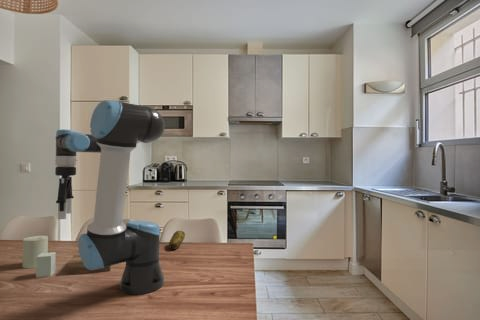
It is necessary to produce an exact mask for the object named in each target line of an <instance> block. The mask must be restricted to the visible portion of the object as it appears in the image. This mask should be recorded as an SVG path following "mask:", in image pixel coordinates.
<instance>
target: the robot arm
mask: <svg viewBox="0 0 480 320" xmlns="http://www.w3.org/2000/svg"><path fill="white" fill-rule="evenodd" d="M89 124H90V125H89V128H90V134H86V133H83V132H77V131H76V130H74V129H57V130H56V134H55V165H56V166H55V173H54V174H55V176H59V177H60V176H61V177H60V178H58V180H59V182H58V183H59V184H58V190H57V191H58V193H57V199H56V201H55V204H57V220H66V219H67V215H69V214H72V207H73V206H72V199H74V196H73V188H72V187H73V184H72V182H73V179H72V176H76V175H77V167H76V166H77V162H78V160H79V159H78V158H77V153H94V154H95V153H98V154H99V153H100V157H99V167H98V175H97V186H96V193H95V194H96V195H95V203H94V213H93V220H92V221H91V223H89V224H88V225H87V229H86V233H83V234H81V235H79V238H78V242H77V244H78V245H77V246H78V251H79V253H80V257H81V260H82V262H83V264H84V266H85V267H86V268H87V269H89V270H95V269H100V268H101V269H103V268H104V267H108V266H112V265H113V266H114V265H119V264H123V263H125V267H124V270H123V273H122V275H121V278H120V282H119V283H120V284H119V290H120V291H121V292H123V293H125V294H128V295H143V294H148V293H151V292H155V291H157V290H159V289H160V287H161V288H162V287H163V286H164V284H165V277H164V273H163V271H162V266H161V265H160V241H161V240H160V236H161V231H160V230H161V229H160V226H159V224H158V223H156V222H153V221H145V220H130V221H127V222H126V224H125V222H123V220H124V219H123V217H124V209H125V203H126V202H125V200H126V193H127V192H126V191H127V185H128V176H129V168H130V159H131V152H132V151H134V150H135V149H136V148H137V144H139V143H144V144H148V143H153V142H155V141H157V140H158V139H160V138H161V137H162V136H163V134H164V131H165V127H166V126H165V121H164V117H163V116H162V115H161V114H160V112H159V111H158V110H156V109H155V108H153V107H150V106H146V105H140V104H139V105H138V104H134V103H128V102H123V101H119V100H110V99H109V100H108V99H105V100H102V101H100V102H98V104H97V105H96V106H95V108H94V110H93V112H92V115H91V119H90V123H89ZM113 266H112V267H113Z"/></svg>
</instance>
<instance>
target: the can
mask: <svg viewBox="0 0 480 320" xmlns="http://www.w3.org/2000/svg"><path fill="white" fill-rule="evenodd" d="M48 247H49V236H48V235H34V236H27V237H24V238H22V265H21V267H22V268H23V269H24V268H25V269H36V257H37V256H38V255H40V254H41V253H49V252H48V251H49V248H48Z"/></svg>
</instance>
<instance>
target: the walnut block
mask: <svg viewBox="0 0 480 320" xmlns="http://www.w3.org/2000/svg"><path fill="white" fill-rule="evenodd" d="M113 266H114V265H112V266H108V267H104V268H103V269H101V268H100V269H95V270H89V269H87V268H86V267H85V266H84V264H83V262H82V260H81V257H80V253H79V250H78V251H77V252H76V253H75V254H74V256H72V257H71V259H69V260H68V261H67V263H66V275H77V274H90V273H91V274H92V273H101V272H111V270H112V268H113Z"/></svg>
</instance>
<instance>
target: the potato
mask: <svg viewBox="0 0 480 320" xmlns="http://www.w3.org/2000/svg"><path fill="white" fill-rule="evenodd" d="M185 237H186V234H185V231H183V230H176V231H175V232H174V233H173V234H172V236H171V238H170V240H169V242H168V247H169V248H170V249H171V250H173V249H174V250H176V249H177V248H178V247H180V246H181V244H182V243H183V241H184V240H185Z"/></svg>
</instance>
